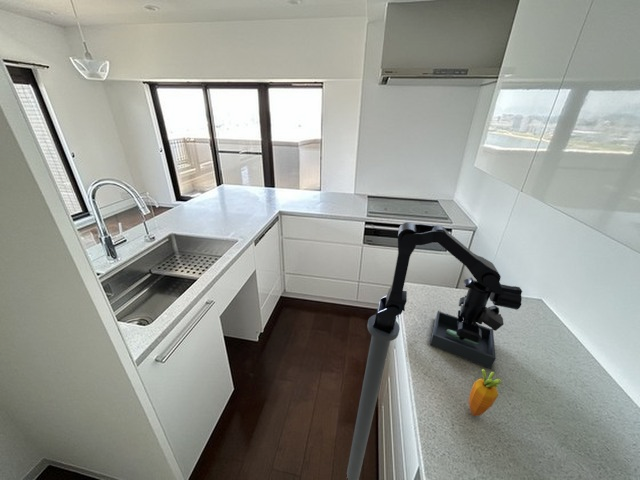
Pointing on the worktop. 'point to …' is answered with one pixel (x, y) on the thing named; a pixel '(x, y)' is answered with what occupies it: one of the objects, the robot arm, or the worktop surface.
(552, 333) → the worktop surface
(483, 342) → the bin
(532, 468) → the worktop surface
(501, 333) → the worktop surface
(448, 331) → the pale green rod
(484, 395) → the carrot
